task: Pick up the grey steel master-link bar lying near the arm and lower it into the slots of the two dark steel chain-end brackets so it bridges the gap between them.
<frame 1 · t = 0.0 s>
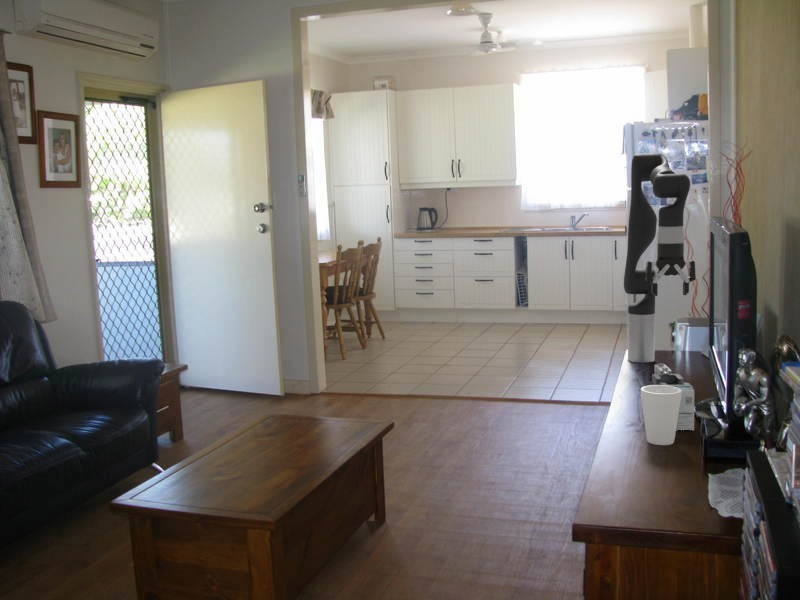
hand: (670, 295, 248), 29 cm above the tv stand, tool pointing down, fingers open, 8 cm apart
light bulb box: (670, 428, 213), on the tv stand
end link b: (676, 395, 246), on the tv stand
master link: (662, 379, 267), on the tv stand
foam cup: (660, 442, 202), on the tv stand
end link a: (667, 385, 258), on the tv stand
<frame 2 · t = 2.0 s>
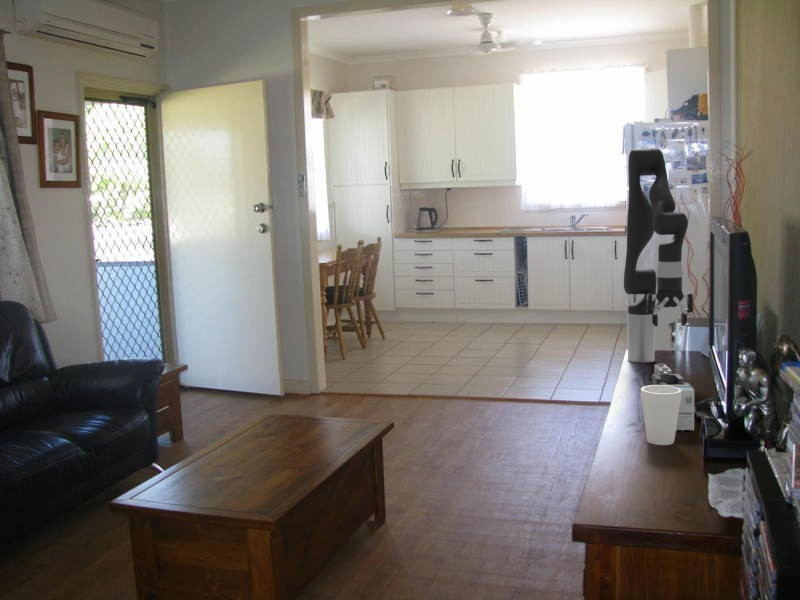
hand: (669, 325, 264), 18 cm above the tv stand, tool pointing down, fingers open, 8 cm apart
nothing on the tv stand moved.
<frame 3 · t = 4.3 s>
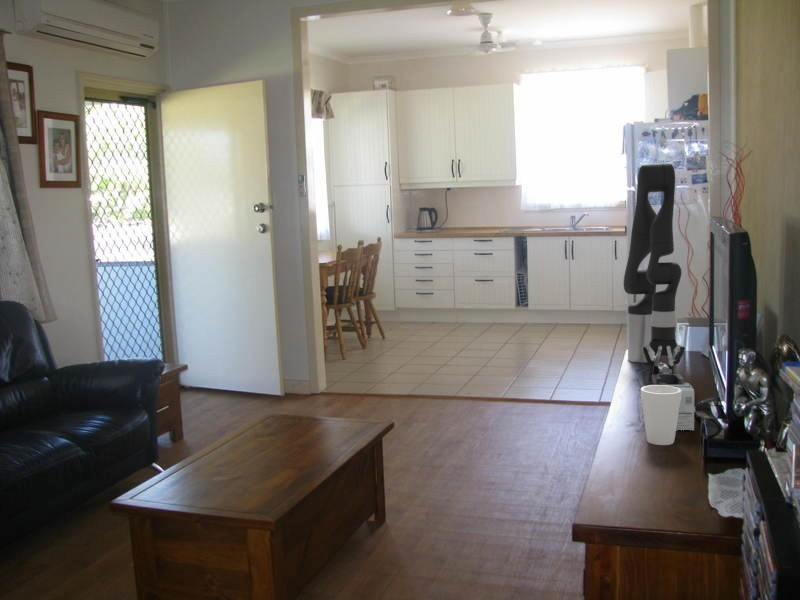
hand: (662, 376, 267), 1 cm above the tv stand, tool pointing down, fingers closed on master link, 3 cm apart
master link: (662, 378, 267), on the tv stand, touching gripper
everything else where it was.
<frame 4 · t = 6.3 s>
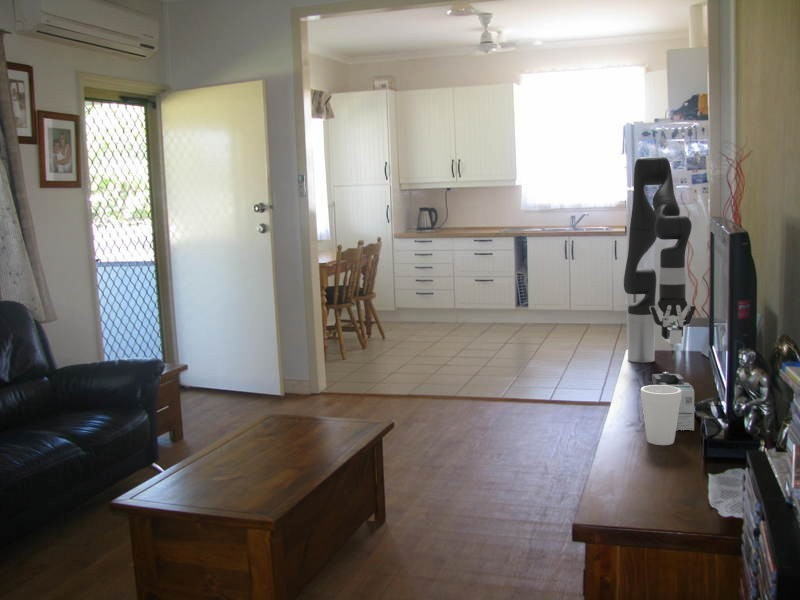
hand: (672, 338, 250), 16 cm above the tv stand, tool pointing down, fingers closed on master link, 3 cm apart
master link: (672, 341, 251), point 15 cm above the tv stand, touching gripper
everything else where it was.
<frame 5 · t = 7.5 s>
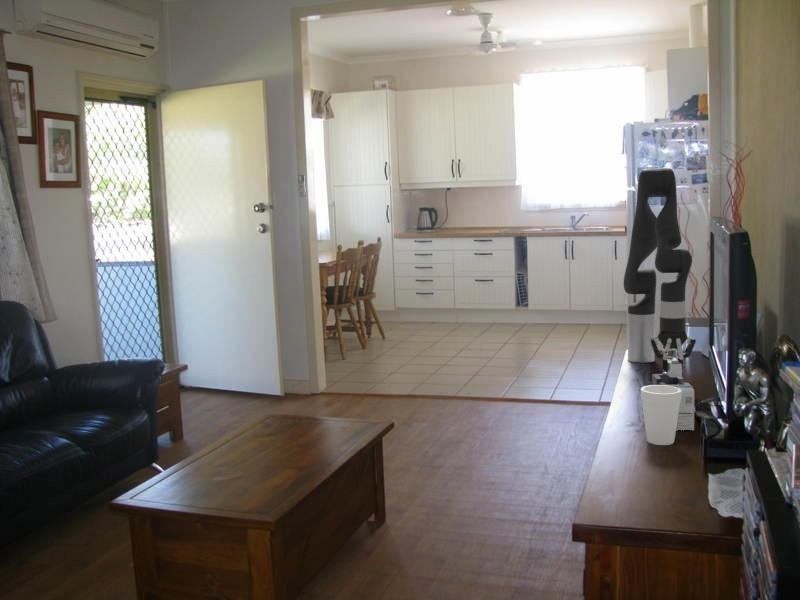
hand: (672, 371, 251), 6 cm above the tv stand, tool pointing down, fingers closed on master link, 3 cm apart
master link: (672, 373, 251), point 5 cm above the tv stand, touching gripper
everything else where it was.
when the fingers open (2 cm above the tv stand, at t = 8.6 s): master link drops 2 cm, on the tv stand.
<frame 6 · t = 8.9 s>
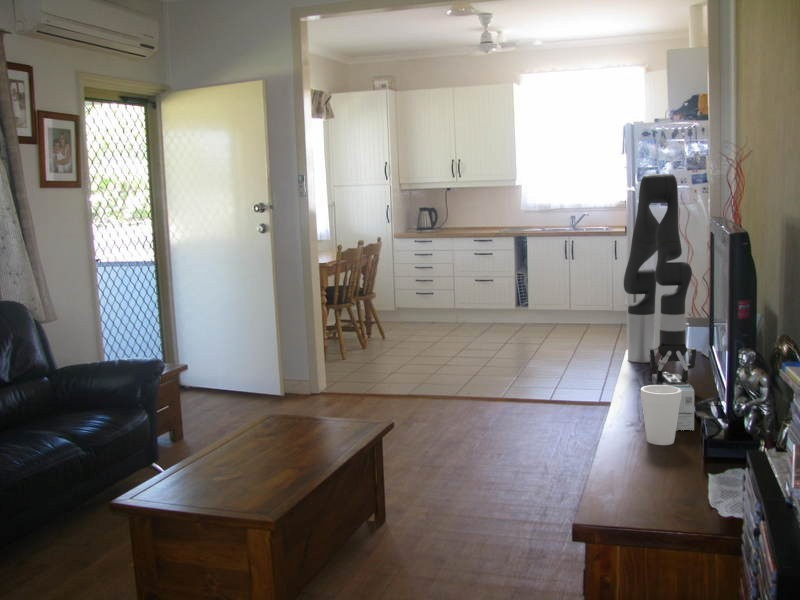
hand: (671, 381, 251), 3 cm above the tv stand, tool pointing down, fingers open, 6 cm apart
master link: (671, 391, 252), on the tv stand
everything else where it was.
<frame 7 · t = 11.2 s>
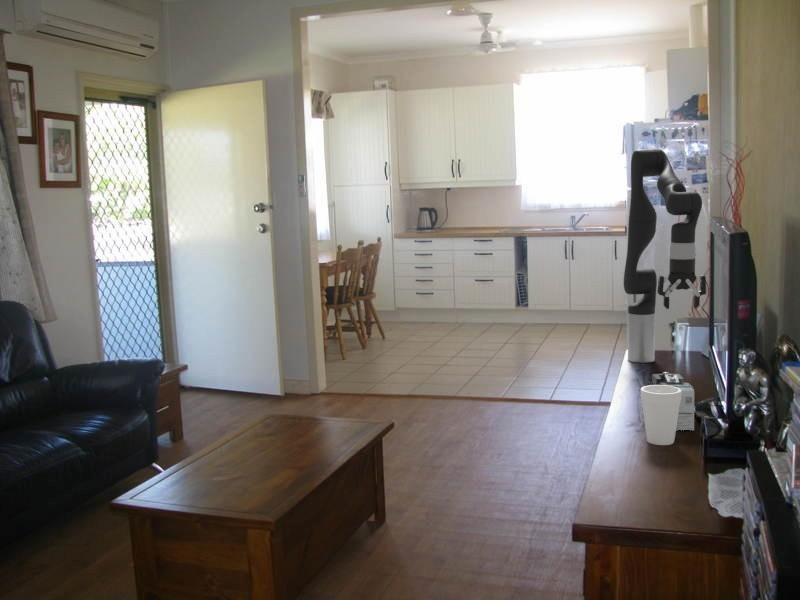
hand: (681, 308, 258), 24 cm above the tv stand, tool pointing down, fingers open, 8 cm apart
nothing on the tv stand moved.
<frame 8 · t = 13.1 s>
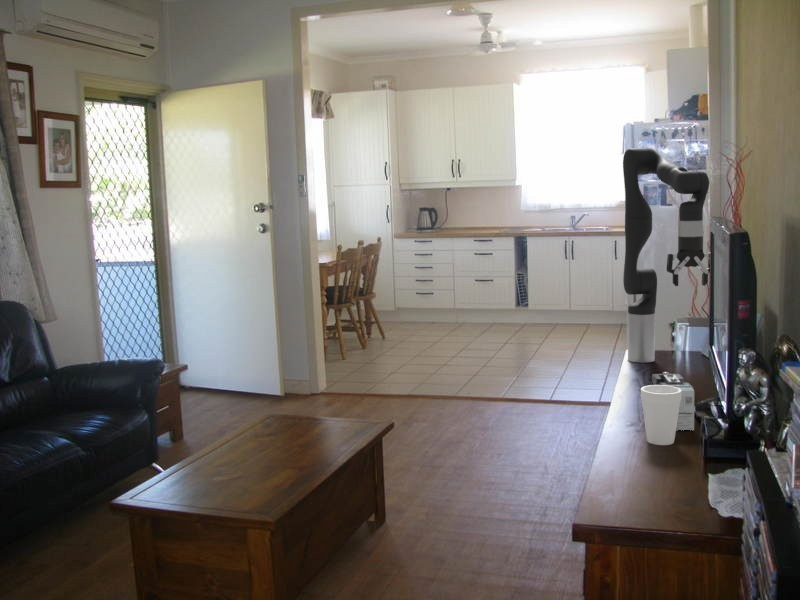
hand: (690, 285, 264), 30 cm above the tv stand, tool pointing down, fingers open, 8 cm apart
nothing on the tv stand moved.
at the end: master link 0.1 cm from the target spot, on the tv stand; master link tilted 0°; the gripper is holding nothing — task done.
